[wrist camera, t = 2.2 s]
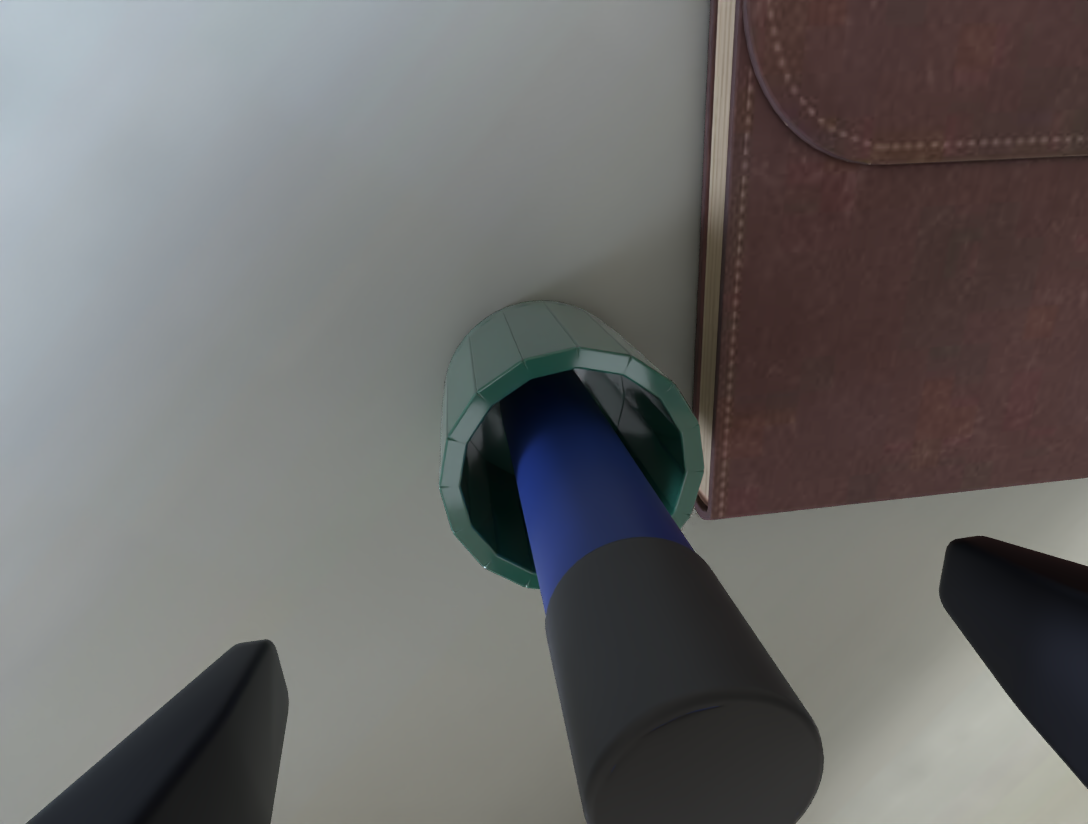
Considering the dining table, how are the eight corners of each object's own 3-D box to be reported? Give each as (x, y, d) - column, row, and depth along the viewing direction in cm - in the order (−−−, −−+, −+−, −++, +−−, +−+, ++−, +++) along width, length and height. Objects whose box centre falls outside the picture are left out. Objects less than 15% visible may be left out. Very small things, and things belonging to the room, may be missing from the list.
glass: (666, 413, 17) (746, 499, 12) (516, 513, 17) (540, 633, 13) (567, 259, 15) (619, 292, 11) (403, 375, 16) (383, 456, 11)
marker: (604, 410, 16) (865, 795, 6) (531, 459, 16) (664, 915, 6) (555, 339, 15) (762, 646, 5) (479, 392, 16) (534, 789, 5)
